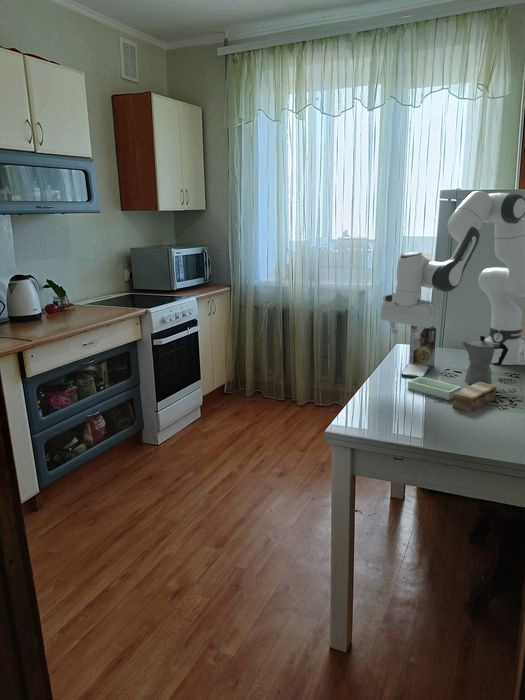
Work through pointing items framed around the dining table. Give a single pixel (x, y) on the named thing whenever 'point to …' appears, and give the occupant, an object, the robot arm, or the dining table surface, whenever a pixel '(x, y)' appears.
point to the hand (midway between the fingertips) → (405, 335)
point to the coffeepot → (482, 360)
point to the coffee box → (422, 346)
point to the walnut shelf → (474, 396)
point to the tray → (433, 387)
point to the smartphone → (415, 371)
